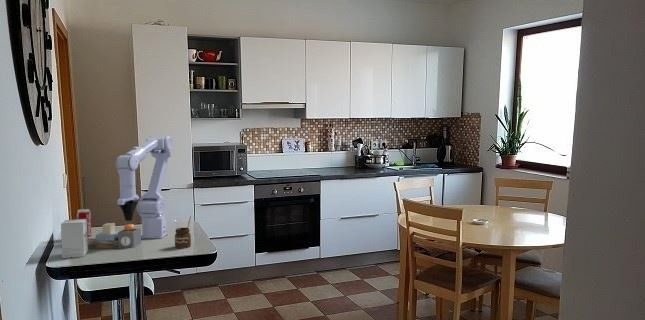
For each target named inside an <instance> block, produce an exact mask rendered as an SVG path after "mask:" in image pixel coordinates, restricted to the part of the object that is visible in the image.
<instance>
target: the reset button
mask: <svg viewBox="0 0 645 320" xmlns="http://www.w3.org/2000/svg"><path fill="white" fill-rule="evenodd" d="M134 228H135V224H134V223H127V224H124V225H123V229H124V231H134Z"/></svg>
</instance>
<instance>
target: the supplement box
mask: <svg viewBox="0 0 645 320" xmlns="http://www.w3.org/2000/svg"><path fill="white" fill-rule="evenodd" d="M60 234H61V237H60V238H61V258H62V259H68V258H69V259H70V258H71V257H72V258H81V257H82V258H84V257H85V256H86V255H87V253H88V252H89V248H88V236H87V219H77V218H75V219H65V220H64V221H63V222H61V224H60Z"/></svg>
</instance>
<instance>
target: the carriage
mask: <svg viewBox="0 0 645 320" xmlns="http://www.w3.org/2000/svg"><path fill="white" fill-rule="evenodd" d="M119 231H120V230H116V223H115V222H109V223H104V224H102V232H100V233H97V234H96V235H95V238H96V241H114V240H116V239H118V232H119Z"/></svg>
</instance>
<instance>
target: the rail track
mask: <svg viewBox="0 0 645 320" xmlns="http://www.w3.org/2000/svg"><path fill="white" fill-rule="evenodd" d="M87 236H88V232H87ZM88 249H118V239H116V240H114V241H96V237H91V238H88Z"/></svg>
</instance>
